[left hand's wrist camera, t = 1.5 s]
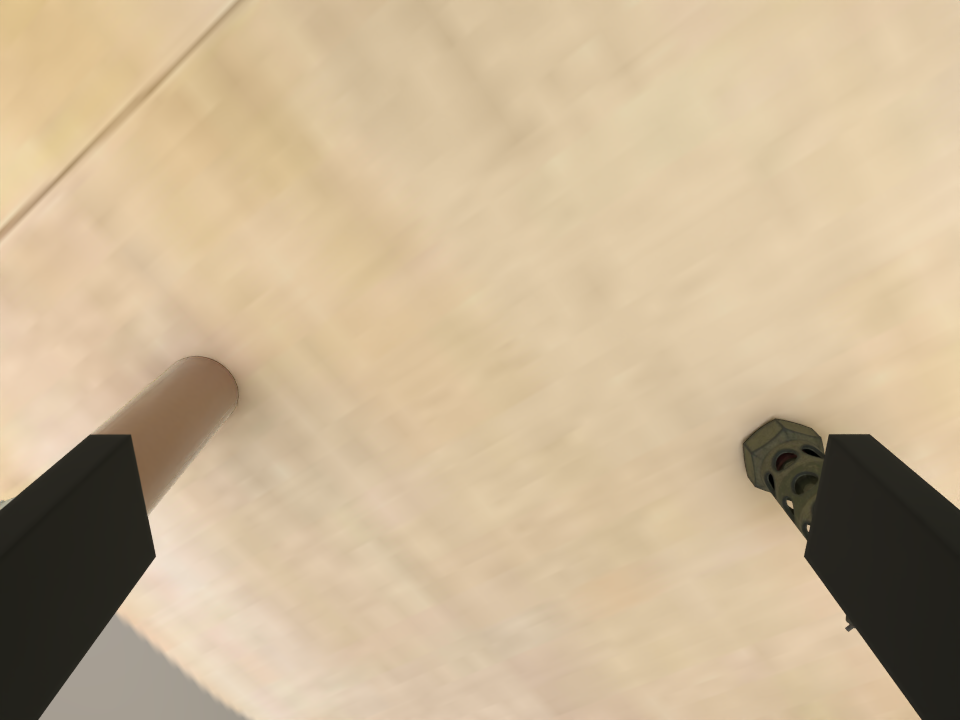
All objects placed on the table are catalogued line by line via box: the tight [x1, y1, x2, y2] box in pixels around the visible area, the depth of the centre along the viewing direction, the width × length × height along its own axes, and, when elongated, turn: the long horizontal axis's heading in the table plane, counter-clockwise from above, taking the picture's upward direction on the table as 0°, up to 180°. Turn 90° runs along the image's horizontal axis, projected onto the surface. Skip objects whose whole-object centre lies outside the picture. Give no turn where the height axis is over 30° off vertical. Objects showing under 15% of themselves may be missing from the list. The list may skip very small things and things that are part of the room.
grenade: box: [743, 419, 855, 632], centre depth 37 cm, size 9×6×15 cm, turn 134°
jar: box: [91, 357, 238, 516], centre depth 34 cm, size 5×5×18 cm
